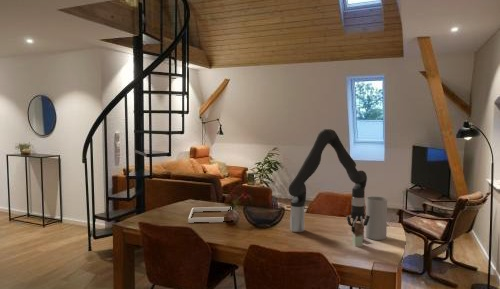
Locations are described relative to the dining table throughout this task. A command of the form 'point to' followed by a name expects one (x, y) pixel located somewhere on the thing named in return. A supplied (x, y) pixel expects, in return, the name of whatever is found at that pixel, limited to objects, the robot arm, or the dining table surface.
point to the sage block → (357, 240)
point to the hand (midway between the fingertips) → (357, 232)
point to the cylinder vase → (376, 218)
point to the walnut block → (358, 229)
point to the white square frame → (208, 219)
